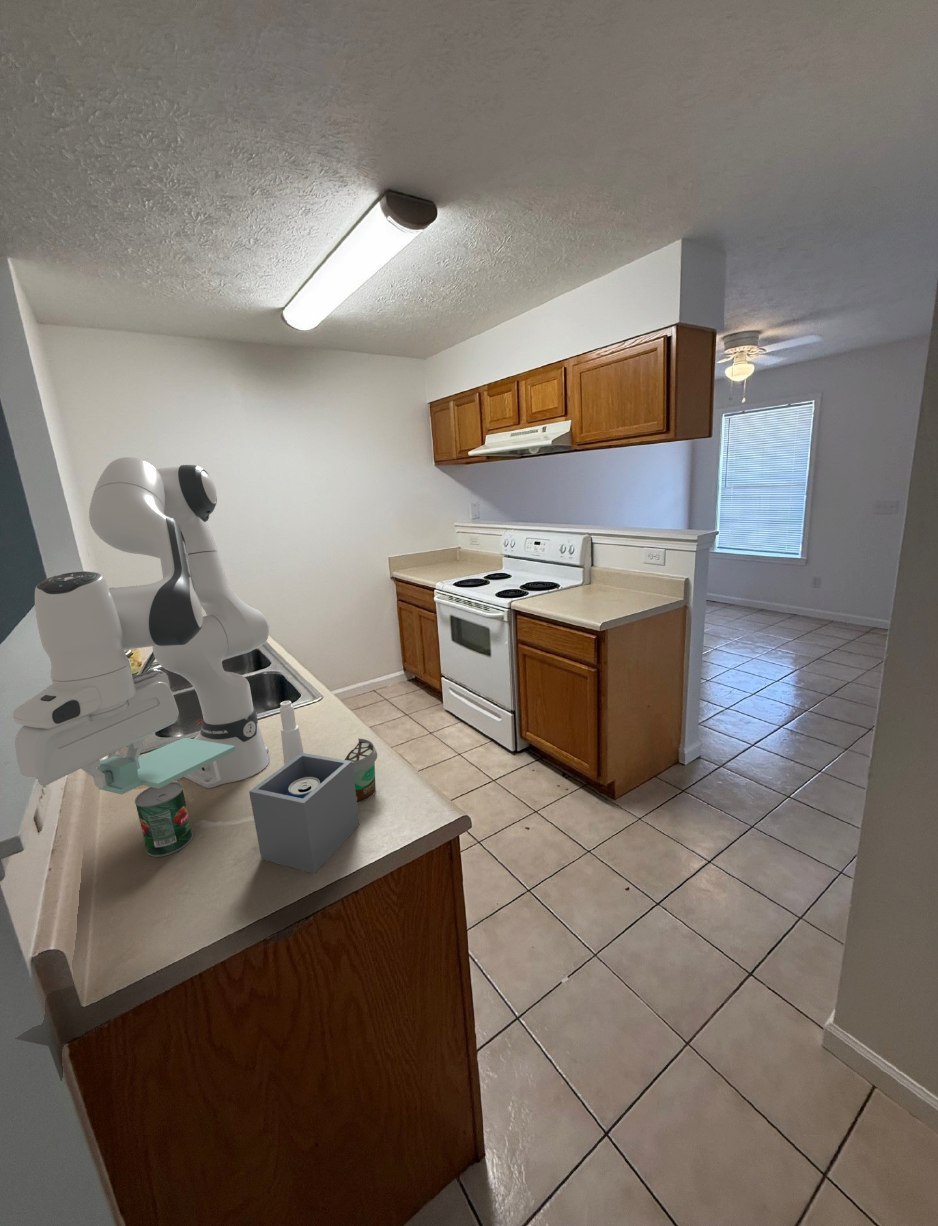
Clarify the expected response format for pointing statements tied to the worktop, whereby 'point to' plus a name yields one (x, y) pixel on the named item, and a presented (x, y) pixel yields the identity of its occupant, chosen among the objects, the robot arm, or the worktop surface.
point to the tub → (305, 812)
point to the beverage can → (303, 787)
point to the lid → (162, 764)
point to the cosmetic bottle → (290, 733)
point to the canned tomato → (164, 819)
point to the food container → (363, 768)
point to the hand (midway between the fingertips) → (118, 777)
